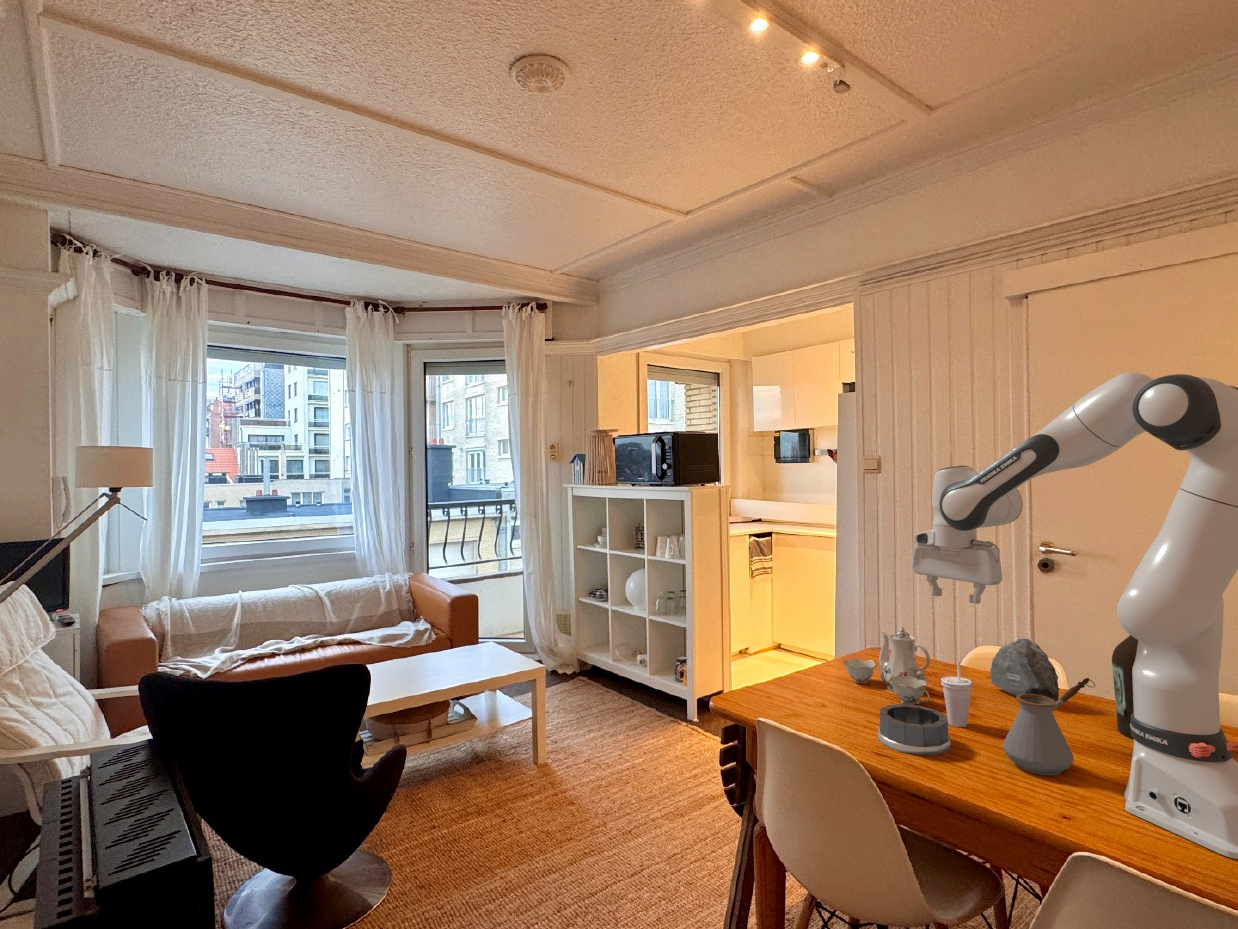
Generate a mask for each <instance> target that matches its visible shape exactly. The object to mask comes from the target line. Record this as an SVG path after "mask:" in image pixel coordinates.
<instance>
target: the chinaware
mask: <svg viewBox="0 0 1238 929" xmlns="http://www.w3.org/2000/svg"><path fill="white" fill-rule="evenodd" d="M880 634H881V635H882V640H883V641H882V644H881V648H880V651H879V656H878V664H877V663H875V661H874V660H872V659H867V660H863V659H861V658H856V657H855V658H851V659H849V660H848V659H844V660H843V661H842V662H843V664H844V666H845V668H846V671H847V673H848V675H849V676H850V677H851V679H853V680H854V681H855V682H854V683H856V682H858V683H865V684H864V685H866V682H867V683H868V680H870V679H871V678H872V677H873V675H874V672H875V669H876V668H877V667H878V666H879V669H880V672H881V674H880V678H881V680H882V681H883V682H884V683H885V685H886V686H885V687H886V689H887V690H888V691H891V692H893V693H894V694H895V695H896V696H897V697H898V698H899V699H900V702H901V704H908V705H916V704H917V705H920V704H921V703H924V704H926V703H928V702H929V701H930V694H929V692H928V691H927V690H926V687H927V685H928V682H927V677H926V675H925V670H927V669H928V668H929V666H930V661H931V658H930V657H931V656H930V653H929V652H928V650H927V648H925V647H924V645H922V644H918V643H915V642H916V637H915V636H912V635H910V634H909V632H907V631H906V630H905V628H904V626H900V628H899V629H898V631H896V632H895V633H894V634H891V635H889V636H888V634H887V633H886V632H885V631H880ZM918 648H920V649H921V650H922V651H923V652H924V655H925V658H926V663H925V665H924V667H921V668H920V666H919V664H918V661H917V659H916V654H915V652H916V651H917V650H918ZM858 683H857V684H858ZM924 693H926V696H927V700H926V701H925V700H921V698H922V697H923V695H924Z"/></svg>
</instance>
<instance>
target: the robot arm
mask: <svg viewBox="0 0 1238 929" xmlns="http://www.w3.org/2000/svg"><path fill="white" fill-rule="evenodd" d="M1145 432H1147V433H1148V434H1150V435H1151V436H1153V437H1154V438H1156V439H1158V440H1160V441H1162V442H1163V443H1165V444H1167V445H1168V446H1170V447H1172V448H1173V449H1175V450H1176V451H1186V452H1187V454H1188V458H1189V462H1188V468H1187V469H1186V473H1185V474H1184V477H1183V479H1182V481H1181V483H1180V485H1179V487H1178V490H1177V492H1176V494H1175V497H1174V498H1173V501H1172V503H1171V505H1170V508H1169V510H1168V512H1167V513H1166V516H1165V519H1164V521H1163V523H1162V525H1161V526H1160V527H1161V528H1160V529H1159V530H1158V533H1157V535H1156V536H1155V538H1154V539H1153V541H1152V543H1151V544H1150V546H1149V548H1147V550H1146V552H1145V553H1144V556H1143V558H1142V559H1141V561H1140V562H1139V564H1138V566H1137V567H1136V569H1135V570H1134V573H1133V574H1132V576H1131V577H1130V580H1129V582H1128V584H1127V586H1126V587H1125V589H1124V591H1123V592H1122V594H1121V596H1120V598H1119V601H1118V603H1117V607H1116V614H1117V618H1118V622H1119V623H1120V625H1121V626H1122V628H1123V630H1125V631H1126V633H1127V634H1128V635H1129V636H1130V635H1131V636H1132V637H1134V638H1135V639H1137V640H1138V646H1137V653H1136V658H1135V662H1134V665H1133V669H1132V677H1133V707H1134V713H1133V714H1132V715H1131V723H1130V728H1131V736H1132V737H1133V738H1134V739H1133V748H1132V756H1131V761H1130V762H1131V763H1130V772H1129V777H1128V781H1127V784H1126V785H1127V786H1126V789H1125V791H1124V792H1123V795H1124V798H1125V800H1126V801H1125V805H1124V806H1125V807H1124V809H1125V811H1126V812H1128V813H1129V814H1131V815H1133V816H1136V817H1139V818H1141V819H1143V820H1145V821H1147V822H1150V823H1152V824H1154V825H1155V826H1158V827H1160V828H1162V829H1165V830H1167V831H1169V832H1171V833H1173V834H1176V835H1178V836H1179V837H1182V838H1185V839H1187V840H1188V841H1191V842H1194V843H1196V844H1198V845H1200V846H1202V847H1205V848H1206V849H1209V850H1211V851H1213V852H1215V853H1217V854H1219V855H1221V856H1225V857H1226V858H1227V857H1228V858H1230V859H1235V860H1238V762H1237V761H1236V760H1235V759H1234V754H1233V751H1236V750H1237V751H1238V747H1236V746H1238V742H1237V741H1236V742H1235V741H1234V742H1229V741H1228V739H1227V737H1226V735H1225V733H1224V730H1223V729H1222V728H1221V721H1220V720H1221V719H1220V718H1221V717H1220V694H1219V693H1220V691H1219V690H1220V688H1219V685H1220V684H1219V683H1220V682H1219V681H1220V667H1221V659H1222V658H1221V657H1222V648H1223V635H1224V613H1225V612H1224V609H1225V600H1224V596H1223V595H1224V593H1225V592H1226V589H1227V588H1228V586H1229V584H1230V582H1231V581H1232V579H1233V578H1234V576H1235V574H1237V571H1238V387H1236V386H1234V385H1228V384H1226V383H1224V382H1222V381H1219V380H1218V379H1214V378H1209V377H1205V376H1204V377H1203V376H1194V375H1191V374H1184V373H1182V374H1181V373H1180V374H1177V373H1176V374H1169V375H1168V374H1167V375H1165V376H1161V377H1158V378H1155V379H1154V378H1152V377H1150V376H1148V375H1145V374H1143V373H1139V372H1134V371H1132V372H1131V371H1130V372H1124V373H1120V374H1118V375H1116V376H1114V377H1112V378H1111V379H1109V380H1107V381H1105V382H1103V383H1102V384H1100V385H1098V386H1097V387H1095V388H1093V389H1092V390H1090V391H1089V392H1088V393H1087V394H1085V395H1083V396H1082V397H1081V398H1079V399H1078V400H1077V401H1075V402H1074V403H1073V404H1072V405H1071V406H1070V405H1069V407H1068V408H1066V409H1065V410H1064V411H1063V412H1061V414H1059V415H1058V416H1057V417H1055V418H1054V419H1053V420H1051V421H1050V422H1049V423H1047V425H1045V426H1044V427H1043V428H1041V429H1040V430H1038V431H1037V432H1035V433H1034V434H1033V435H1031V436H1030V437H1029V438H1028V439H1026V440H1025V441H1024V442H1022V443H1021V444H1018V445H1017V446H1016V447H1014V448H1013V449H1011V450H1010V451H1008V452H1006V454H1004V455H1003V456H1001V457H999V459H997V460H996V461H994V462H993V463H991V464H990V465H988V466H987V467H985V468H984V469H983V470H980V471H979V472H978V471H976V470H975V469H974V468H973V467H972V466H970V465H969V466H968V465H957V466H956V465H955V466H948V467H944V468H940V469H939V470H938V471H936V473H935V474H934V477H933V482H932V489H931V491H932V492H931V494H932V496H931V497H932V498H931V504H932V509H933V513H934V516H933V520H932V529H930V530H926V531H922V532H918V533H915V534H913V537H912V540H913V543H914V545H913V547H912V552H911V568H912V570H913V572H914V573H915V574H916V575H923V576H926V581H927V583H928V585H929V587H930V588H931V595H932V596H933V597H942V596H943V588H942V587H940V586H939V584H938V581H937V580H939V578H942V579H948V580H952V581H953V580H954V581H961V582H966V583H973V588H974V589H975V590H974V592H973V593H972V594H969V595H968V596H969V600H968V601H969V603H970V604H976V605H978V604H981V598H982V594H983V593H984V592H985V590H986V588H987V587H986V586H996V585H1000V583H1002V581H1003V570H1002V563H1001V552H1000V548H999V547H998V546H997V545H996V544H995V543H994V542H992V541H989V540H986V541H983V540H978V539H977V537H978V536H977V535H978V534H977V533H978V532H977V529H982V528H983V529H984V528H991V527H999V526H1004V525H1005V526H1006V525H1007V524H1011V523H1013V522H1015V521H1016V520H1018V518H1020V516H1021V513H1022V510H1023V499H1022V495H1021V493H1020V491H1019V490H1018V488H1019V487H1021V486H1023V485H1024V484H1025V483H1027V482H1029V481H1031V480H1032V479H1034V478H1037V477H1039V476H1042V475H1046V474H1048V473H1049V474H1050V473H1054V472H1059V471H1064V470H1070V469H1076V468H1082V467H1087V466H1090V465H1092V464H1095V463H1097V462H1099V461H1101V460H1103V459H1104V458H1107V457H1109V456H1110V455H1112V454H1113V453H1115V452H1116V451H1118V450H1120V449H1121V448H1123V447H1124V446H1125V445H1126V444H1128V443H1129V442H1131V441H1132V440H1133V439H1135V438H1137V437H1138V436H1140V435H1142V434H1143V433H1145Z"/></svg>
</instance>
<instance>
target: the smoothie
mask: <svg viewBox="0 0 1238 929" xmlns="http://www.w3.org/2000/svg"><path fill="white" fill-rule="evenodd" d="M956 664H957V668H956V670H957V676H944V677H941V678H940V684H941V685H942V691H943V696H944V702H945V708H946V714H947V715H946V716H947V720H948V725H949V726H950V725H951V726H953V727H958V728H964V727H965V728H966V727H967V726H968V720H969V709H970V702H971V692H972V688H973V681H972V680H970V679H969V678H965V677H962V676H961V661H960V660H957V662H956Z"/></svg>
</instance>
